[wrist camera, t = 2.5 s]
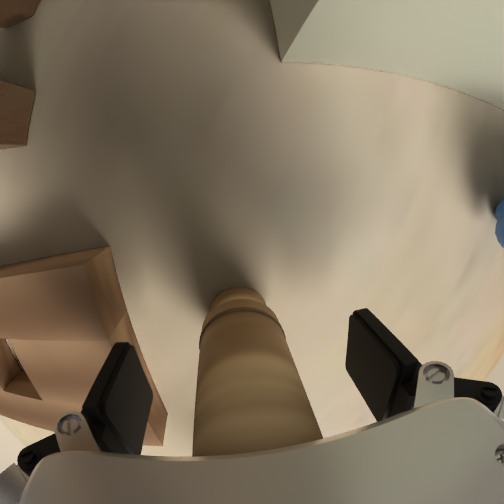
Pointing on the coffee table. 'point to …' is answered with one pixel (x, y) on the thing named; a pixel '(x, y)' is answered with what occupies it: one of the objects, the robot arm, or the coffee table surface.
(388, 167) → the coffee table surface
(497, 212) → the grapes
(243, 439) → the peg
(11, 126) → the wooden toy
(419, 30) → the crate
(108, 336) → the board
